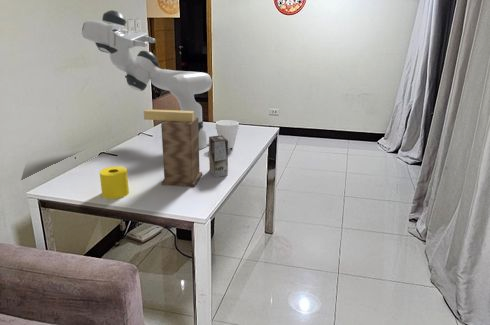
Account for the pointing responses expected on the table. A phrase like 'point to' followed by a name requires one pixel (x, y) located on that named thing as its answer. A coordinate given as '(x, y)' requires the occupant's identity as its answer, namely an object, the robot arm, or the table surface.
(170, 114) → the bar
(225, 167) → the coffee box
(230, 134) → the cup
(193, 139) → the stand
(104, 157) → the table surface
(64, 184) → the table surface
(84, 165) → the table surface
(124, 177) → the yellow toilet paper roll
